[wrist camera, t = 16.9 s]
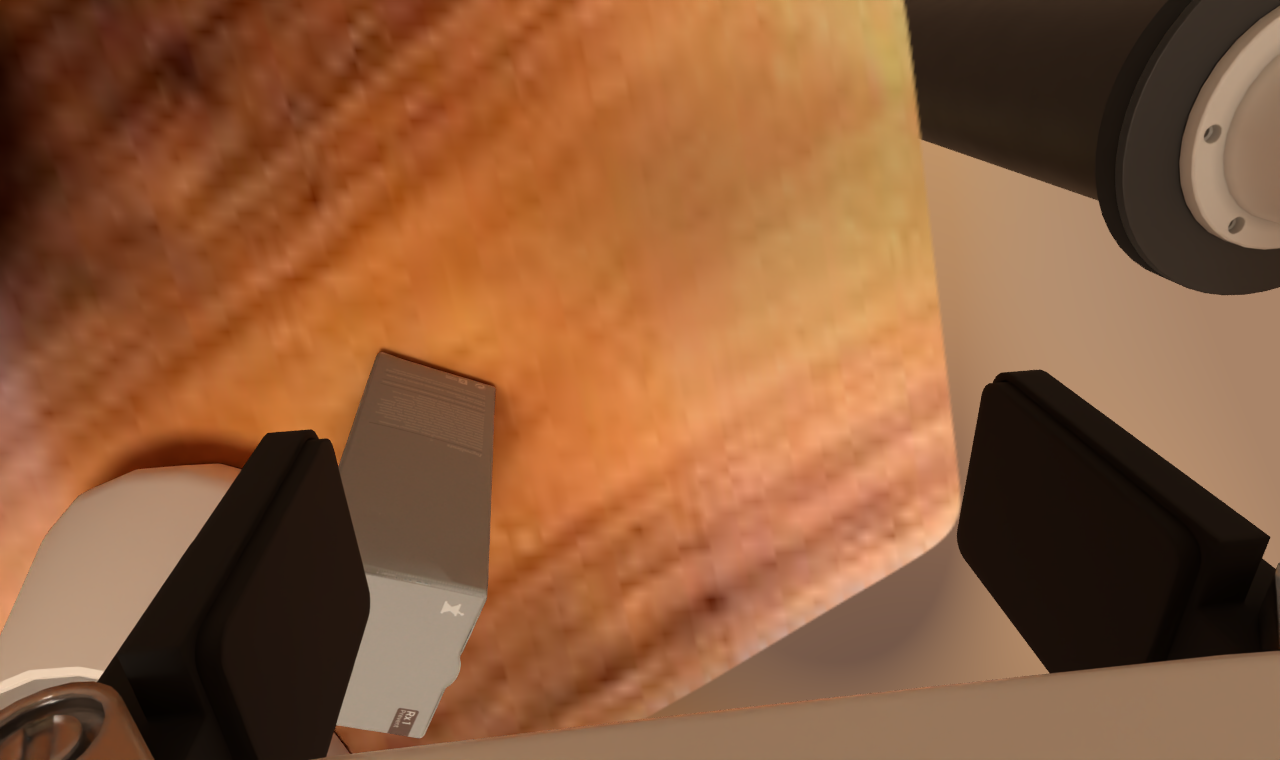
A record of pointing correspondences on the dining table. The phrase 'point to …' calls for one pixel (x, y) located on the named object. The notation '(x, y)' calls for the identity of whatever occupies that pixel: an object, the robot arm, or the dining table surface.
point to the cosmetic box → (417, 536)
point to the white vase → (102, 573)
